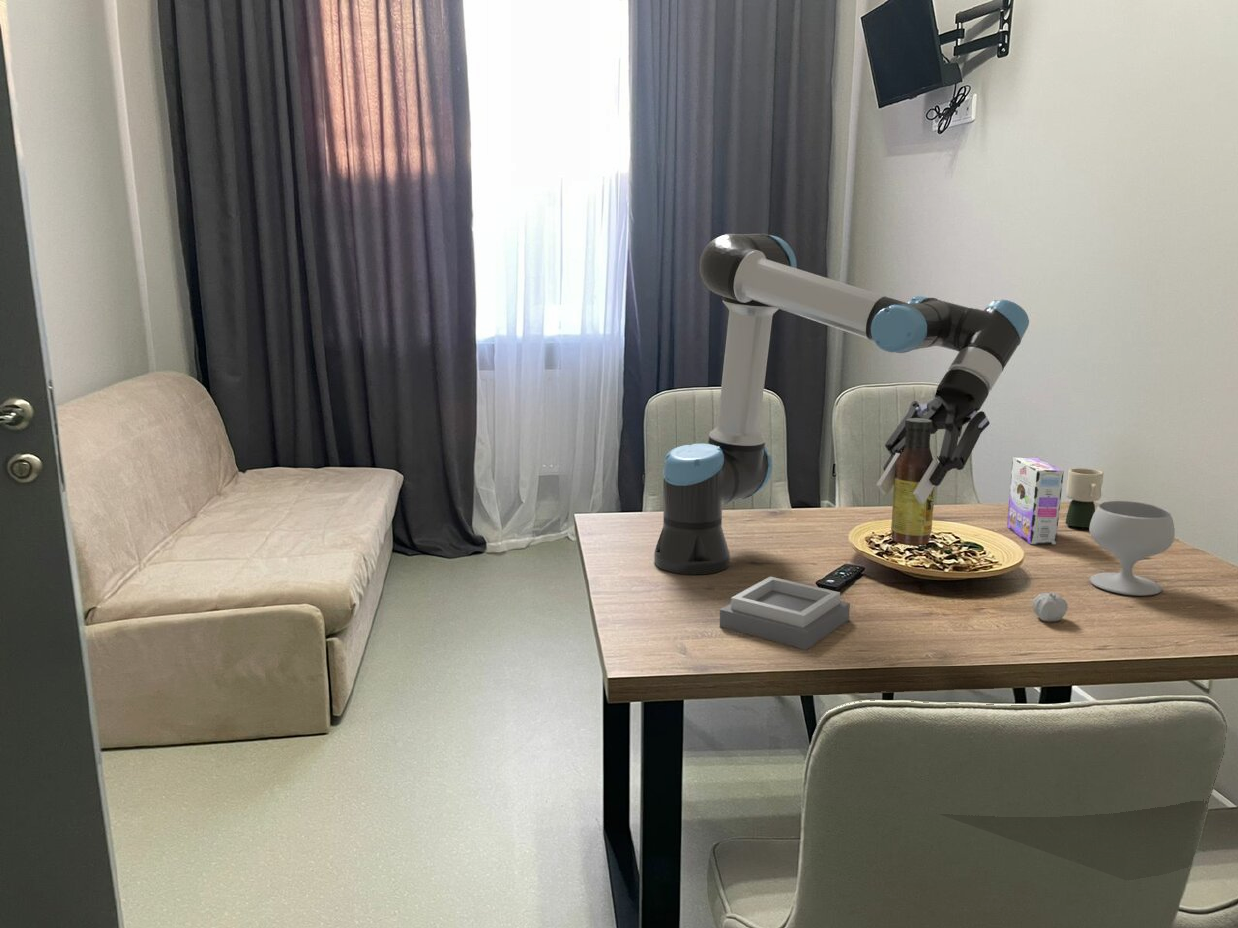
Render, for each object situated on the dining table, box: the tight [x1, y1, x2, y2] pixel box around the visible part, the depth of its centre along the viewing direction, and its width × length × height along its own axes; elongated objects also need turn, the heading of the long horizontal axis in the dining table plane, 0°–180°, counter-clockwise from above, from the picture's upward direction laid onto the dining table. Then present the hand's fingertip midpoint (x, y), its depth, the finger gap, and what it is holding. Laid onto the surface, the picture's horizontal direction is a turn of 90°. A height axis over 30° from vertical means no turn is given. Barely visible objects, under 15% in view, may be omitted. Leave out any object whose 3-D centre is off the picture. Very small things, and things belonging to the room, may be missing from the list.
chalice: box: [1088, 500, 1176, 597], centre depth 179 cm, size 14×14×15 cm
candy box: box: [1006, 457, 1065, 546], centre depth 211 cm, size 14×6×16 cm, turn 179°
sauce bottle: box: [890, 418, 936, 547], centre depth 153 cm, size 7×6×20 cm
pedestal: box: [719, 576, 851, 651], centre depth 163 cm, size 16×16×5 cm
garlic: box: [1032, 591, 1069, 622], centre depth 165 cm, size 6×5×5 cm
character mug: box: [1064, 467, 1104, 529], centre depth 218 cm, size 11×7×13 cm, turn 178°
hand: (899, 494), depth 152 cm, fingers closed on sauce bottle, 6 cm apart
